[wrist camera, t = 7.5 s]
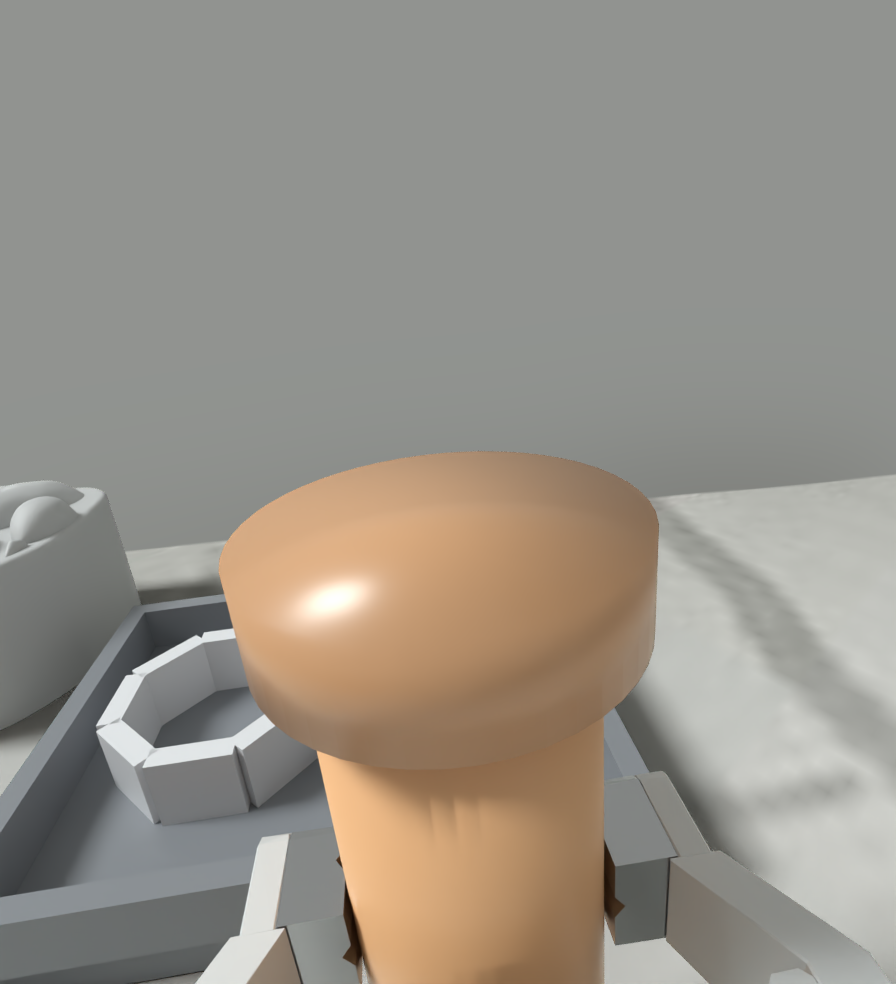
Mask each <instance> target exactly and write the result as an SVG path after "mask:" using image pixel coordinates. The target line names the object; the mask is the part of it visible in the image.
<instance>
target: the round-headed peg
mask: <svg viewBox="0 0 896 984" xmlns="http://www.w3.org/2000/svg"><path fill="white" fill-rule="evenodd" d="M658 536H659V523H658V519H657V515H656V511H655V510H654V508H653V506H652V505H651V503H650V501H649V500H648V499H647V498H646V497H645V496H644V495H643V494H642V493H641V492H640V491H639V490H638V489H637V488H635V487H634V486H633V485H631V484H630V483H628V482H627V481H625V480H623V479H621V478H619V477H618V476H616V475H614V474H611V473H609V472H606V471H604V470H602V469H599V468H596V467H593V466H590V465H586V464H583V463H580V462H576V461H572V460H567V459H563V458H557V457H551V456H545V455H537V454H529V453H516V452H492V451H477V452H454V453H439V454H430V455H421V456H414V457H407V458H400V459H395V460H390V461H385V462H379V463H376V464H371V465H367V466H362V467H359V468H355V469H352V470H348V471H344V472H341V473H338V474H335V475H331V476H328V477H326V478H322V479H320V480H317V481H315V482H313V483H310V484H307V485H304V486H303V487H300V488H298V489H296V490H294V491H291V492H289V493H287V494H285V495H283V496H282V497H280V498H278V499H276V500H274V501H273V502H271V503H269V504H268V505H266V506H265V507H263V508H261V509H260V510H259V511H257V512H255V513H254V514H253V515H252V516H251V517H249V518H248V519H247V520H246V521H245V522H243V523H242V524H241V526H239V528H238V529H237V530H236V531H235V532H234V533H233V534H232V535H231V537H230V539H229V540H228V541H227V543H226V544H225V546H224V548H223V551H222V554H221V556H220V560H219V575H220V579H221V583H222V587H223V591H224V594H225V598H226V602H227V606H228V610H229V613H230V617H231V621H232V625H233V629H234V632H235V636H236V640H237V644H238V648H239V651H240V655H241V659H242V663H243V667H244V670H245V674H246V678H247V682H248V686H249V689H250V692H251V694H252V696H253V698H254V700H255V702H256V703H257V705H258V707H259V708H260V710H261V711H262V712H263V713H264V714H265V715H266V717H267V718H268V719H269V720H270V721H271V722H272V723H273V724H274V725H275V726H277V727H278V728H279V729H281V730H282V731H283V732H284V733H286V734H287V735H288V736H290V737H291V738H293V739H295V740H297V741H299V742H300V743H302V744H304V745H306V746H308V747H310V748H312V749H314V750H316V751H317V755H318V759H319V764H320V768H321V773H322V777H323V782H324V786H325V791H326V795H327V800H328V804H329V809H330V813H331V817H332V822H333V826H334V831H335V835H336V840H337V844H338V849H339V853H340V858H341V862H342V867H343V871H344V876H345V880H346V885H347V889H348V894H349V898H350V902H351V907H352V911H353V916H354V920H355V925H356V929H357V934H358V938H359V943H360V947H361V952H362V956H363V961H364V965H365V970H366V974H367V979H368V983H369V984H604V716H605V715H606V714H607V713H609V712H610V711H611V710H612V709H613V708H615V707H616V706H617V705H618V704H619V703H620V702H622V701H623V700H624V699H625V697H626V696H627V695H628V694H629V693H630V692H631V690H632V689H633V688H634V687H635V686H636V685H637V683H638V682H639V680H640V678H641V677H642V675H643V673H644V672H645V670H646V668H647V666H648V664H649V661H650V658H651V655H652V652H653V649H654V640H655V622H656V594H657V565H658Z"/></svg>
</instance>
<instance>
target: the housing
mask: <svg viewBox="0 0 896 984" xmlns="http://www.w3.org/2000/svg"><path fill="white" fill-rule="evenodd" d="M645 773H650V772H649V771H648V769H647V767H646V765H645V763H644V761H643V759H642V758H641V756H640V754H639V752H638V750H637V748H636V746H635V745H634V743H633V741H632V739H631V737H630V735H629V734H628V732H627V730H626V728H625V726H624V724H623V722H622V721H621V719H620V717H619V715H618V713H617V711H616V709H615V708H613V709H612V710H611V711H610V712H609V713H607V714H606V715H605V716H604V780H609V779H614V778H619V777H625V776H630V775H633V776H635V775H639V774H645ZM328 827H334V826H333V822H332V817H331V813H330V809H329V804H328V800H327V795H326V791H325V786H324V782H323V777H322V773H321V768H320V764H319V759H318V755H317V751H316V750H314V749H312V748H310V747H308V746H306V745H304V744H302V743H300V742H299V741H297V740H295V739H293V738H291V737H290V736H288V735H287V734H286V733H284V732H283V731H282V730H281V729H279V728H278V727H277V726H275V725H274V724H273V723H272V722H271V721H270V720H269V719H268V718H267V717H266V715H265V714H264V713H263V712H262V711H261V710H260V708H259V707H258V705H257V703H256V702H255V700H254V698H253V696H252V694H251V692H250V689H249V686H248V682H247V678H246V674H245V670H244V667H243V663H242V659H241V655H240V651H239V648H238V644H237V640H236V636H235V632H234V629H233V625H232V621H231V617H230V613H229V610H228V606H227V602H226V598H225V594H220V595H213V596H205V597H198V598H190V599H183V600H175V601H168V602H161V603H153V604H146V605H138V606H133V607H132V609H131V610H130V612H129V613H128V614H127V616H126V617H125V619H124V620H123V622H122V623H121V624H120V626H119V627H118V629H117V630H116V632H115V633H114V635H113V636H112V637H111V639H110V640H109V642H108V643H107V645H106V646H105V647H104V649H103V650H102V652H101V653H100V655H99V656H98V657H97V659H96V660H95V662H94V663H93V665H92V666H91V667H90V669H89V670H88V672H87V673H86V675H85V676H84V678H83V679H82V680H81V682H80V683H79V685H78V686H77V688H76V689H75V690H74V692H73V693H72V695H71V696H70V698H69V699H68V700H67V702H66V703H65V705H64V706H63V708H62V709H61V710H60V712H59V713H58V715H57V716H56V718H55V719H54V721H53V722H52V723H51V725H50V726H49V728H48V729H47V731H46V732H45V733H44V735H43V736H42V738H41V739H40V741H39V742H38V743H37V745H36V746H35V748H34V749H33V751H32V752H31V753H30V755H29V756H28V758H27V759H26V761H25V762H24V764H23V765H22V766H21V768H20V769H19V771H18V772H17V774H16V775H15V776H14V778H13V779H12V781H11V782H10V784H9V785H8V786H7V788H6V789H5V791H4V792H3V794H2V795H1V796H0V984H131V983H137V982H142V981H148V980H154V979H159V978H165V977H170V976H176V975H182V974H187V973H193V972H198V971H204V970H206V969H207V967H208V966H209V965H210V963H211V962H212V961H213V959H214V958H215V957H216V955H217V954H218V953H219V952H220V950H221V949H222V948H223V946H224V945H225V944H226V942H227V941H228V940H229V938H230V937H235V936H239V935H240V930H241V925H242V921H243V916H244V911H245V906H246V901H247V896H248V891H249V886H250V881H251V876H252V871H253V866H254V861H255V856H256V851H257V847H258V845H259V843H260V841H261V839H262V837H267V836H274V835H281V834H287V833H292V832H299V831H306V830H314V829H321V828H328Z"/></svg>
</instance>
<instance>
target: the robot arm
mask: <svg viewBox="0 0 896 984" xmlns="http://www.w3.org/2000/svg"><path fill="white" fill-rule="evenodd" d="M604 916H605V919H606V921H607V924H608V927H609V930H610V932H611V935H612V938H613V941H614V944H615V945H622V944H628V943H635V942H641V941H648V940H654V939H660V938H666V941H667V942H668V943H669V944H670V945H671V946H672V947H673V948H674V949H675V950H676V951H677V952H678V953H679V954H680V955H681V956H682V957H683V958H684V959H685V960H686V961H687V962H688V963H689V964H690V965H691V966H692V967H693V968H694V969H695V970H696V971H697V972H698V973H699V974H700V975H701V976H702V977H703V978H704V979H705V980H706V981H707V982H708V983H709V984H892V983H891V982H890V980H889V979H888V978H887V976H886V975H885V973H884V972H883V971H882V969H881V968H880V966H879V965H878V964H877V962H876V961H875V959H874V958H873V957H872V955H871V954H870V952H868V951H867V950H865V949H864V948H862V947H861V946H860V945H858V944H857V943H855V942H854V941H852V940H851V939H849V938H848V937H846V936H845V935H843V934H842V933H840V932H839V931H838V930H836V929H835V928H833V927H832V926H830V925H829V924H827V923H826V922H824V921H823V920H821V919H820V918H818V917H817V916H816V915H814V914H813V913H811V912H810V911H808V910H807V909H805V908H804V907H802V906H801V905H799V904H798V903H797V902H795V901H794V900H792V899H791V898H789V897H788V896H786V895H785V894H783V893H782V892H780V891H779V890H777V889H776V888H775V887H773V886H772V885H770V884H769V883H767V882H766V881H764V880H763V879H761V878H760V877H758V876H757V875H756V874H754V873H753V872H751V871H750V870H748V869H747V868H745V867H744V866H742V865H741V864H739V863H738V862H736V861H735V860H734V859H732V858H731V857H729V856H728V855H726V854H725V853H723V852H722V851H720V850H717V851H711V850H710V848H709V846H708V845H707V843H706V841H705V840H704V838H703V836H702V834H701V833H700V831H699V829H698V827H697V826H696V824H695V822H694V820H693V819H692V817H691V815H690V813H689V812H688V810H687V808H686V806H685V805H684V803H683V801H682V800H681V798H680V796H679V794H678V793H677V791H676V789H675V787H674V786H673V784H672V782H671V780H670V779H669V777H668V775H667V774H666V773H664V772H663V771H656V772H650V773H645V774H639V775H635V776H633V775H630V776H625V777H619V778H614V779H609V780H604ZM362 958H363V956H362V952H361V947H360V943H359V938H358V934H357V929H356V925H355V920H354V916H353V911H352V907H351V902H350V898H349V894H348V889H347V885H346V880H345V876H344V871H343V867H342V862H341V858H340V853H339V849H338V844H337V840H336V835H335V831H334V827H328V828H321V829H314V830H306V831H299V832H292V833H287V834H281V835H274V836H267V837H262V839H261V841H260V843H259V845H258V847H257V851H256V856H255V861H254V866H253V871H252V876H251V881H250V886H249V891H248V896H247V901H246V906H245V911H244V916H243V921H242V925H241V930H240V935H239V936H235V937H230V938H229V940H228V941H227V942H226V944H225V945H224V946H223V948H222V949H221V950H220V952H219V953H218V954H217V955H216V957H215V958H214V959H213V961H212V962H211V963H210V965H209V966H208V967H207V969H206V970H205V971H204V972H203V974H202V975H201V976H200V978H199V979H198V980H197V982H196V983H195V984H362Z"/></svg>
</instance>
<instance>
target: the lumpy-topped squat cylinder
mask: <svg viewBox="0 0 896 984" xmlns="http://www.w3.org/2000/svg"><path fill="white" fill-rule="evenodd" d="M138 605H141V602H140V598H139V595H138V592H137V589H136V586H135V582H134V579H133V576H132V573H131V570H130V566H129V563H128V560H127V557H126V554H125V550H124V547H123V544H122V541H121V538H120V535H119V532H118V528H117V525H116V522H115V519H114V516H113V513H112V510H111V507H110V503H109V500H108V497H107V495H106V493H105V492H104V491H102V490H100V489H96V488H72V487H70V486H68V485H66V484H63V483H60V482H56V481H35V482H24V483H17V484H13V485H10V486H0V730H2V729H4V728H6V727H8V726H10V725H12V724H15V723H17V722H19V721H20V720H22V719H24V718H26V717H28V716H30V715H31V714H33V713H35V712H37V711H38V710H40V709H41V708H43V707H45V706H46V705H48V704H49V703H51V702H53V701H54V700H56V699H57V698H59V697H60V696H62V695H63V694H65V693H66V692H68V691H69V690H71V689H72V688H74V687H75V686H77V685H78V684H79V683H80V682H81V680H82V679H83V678H84V676H85V675H86V673H87V672H88V670H89V669H90V667H91V666H92V665H93V663H94V662H95V660H96V659H97V657H98V656H99V655H100V653H101V652H102V650H103V649H104V647H105V646H106V645H107V643H108V642H109V640H110V639H111V637H112V636H113V635H114V633H115V632H116V630H117V629H118V627H119V626H120V624H121V623H122V622H123V620H124V619H125V617H126V616H127V614H128V613H129V612H130V610H131V609H132V607H133V606H138Z"/></svg>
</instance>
